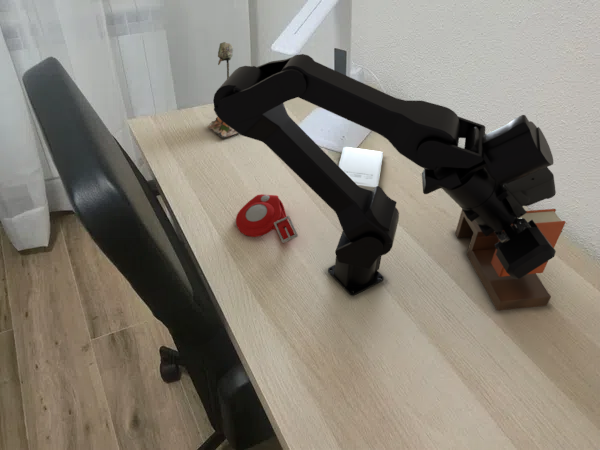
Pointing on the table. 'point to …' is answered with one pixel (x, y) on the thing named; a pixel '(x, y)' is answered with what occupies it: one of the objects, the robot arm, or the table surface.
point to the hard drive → (362, 166)
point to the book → (547, 225)
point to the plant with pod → (226, 55)
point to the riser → (499, 289)
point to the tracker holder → (265, 218)
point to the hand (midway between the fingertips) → (528, 245)
